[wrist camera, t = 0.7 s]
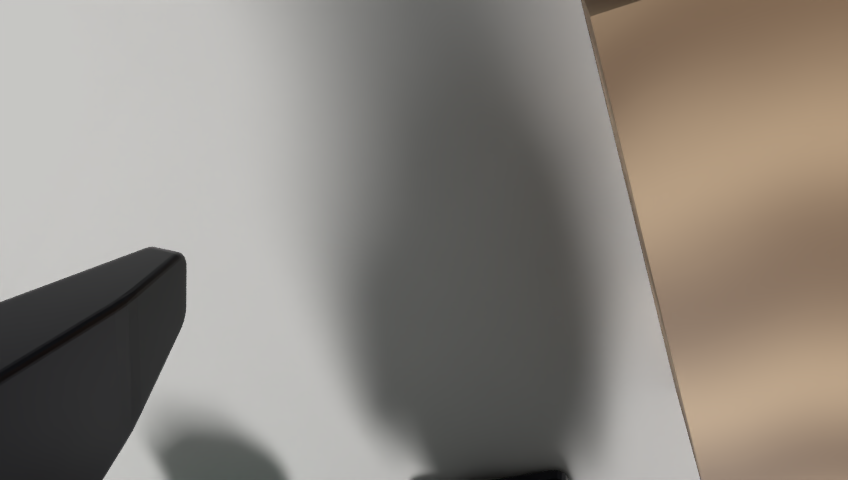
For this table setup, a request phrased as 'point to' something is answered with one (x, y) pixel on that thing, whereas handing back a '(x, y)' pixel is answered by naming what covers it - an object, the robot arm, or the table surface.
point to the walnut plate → (741, 217)
